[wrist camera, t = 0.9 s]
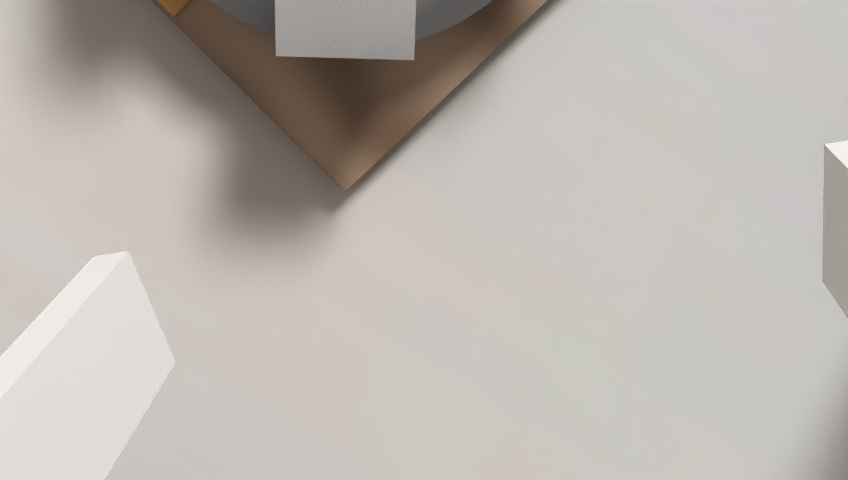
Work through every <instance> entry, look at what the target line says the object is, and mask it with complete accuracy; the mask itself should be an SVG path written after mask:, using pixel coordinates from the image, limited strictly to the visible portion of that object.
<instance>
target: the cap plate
mask: <svg viewBox="0 0 848 480" xmlns="http://www.w3.org/2000/svg"><path fill="white" fill-rule="evenodd" d="M152 1H153V2H154V3H155V4H156V5H157V6H158V7H159V8H160V9H161V10H162V11H163V12H164V13H165V14H166V15H167V16H168V17H169V18H170V19H171V20H172V21H173V22H174V23H175V24H176V25H177V26H178V27H179V28H180V29H181V30H182V31H183V32H184V33H185V34H186V35H187V36H188V37H189V38H190V39H191V40H192V41H193V42H194V43H195V44H196V45H198V46H199V47H200V48H201V49H202V50H203V51H204V52H205V53H206V54H207V55H208V56H209V57H210V58H211V59H212V60H213V61H214V62H215V63H216V64H217V65H218V66H219V67H220V68H221V69H222V70H223V71H224V72H225V73H226V74H227V75H228V76H229V77H230V78H231V79H232V80H233V81H234V82H235V83H236V84H237V85H238V86H239V87H240V88H241V89H242V90H243V91H244V92H245V93H246V94H247V95H248V96H249V97H250V98H251V99H252V100H253V101H254V102H255V103H256V104H257V105H258V106H259V107H260V108H261V109H262V110H263V111H264V112H265V113H266V114H267V115H268V116H269V117H270V118H271V119H272V120H273V121H274V122H275V123H276V124H277V125H278V126H279V127H280V128H281V129H282V130H283V131H284V132H285V133H286V134H287V135H289V136H290V137H291V138H292V139H293V140H294V141H295V142H296V143H297V144H298V145H299V146H300V147H301V148H302V149H303V150H304V151H305V152H306V153H307V154H308V155H309V156H310V157H311V158H312V159H313V160H314V161H315V162H316V163H317V164H318V165H319V166H320V167H321V168H322V169H323V170H324V171H325V172H326V173H327V174H328V175H329V176H330V177H331V178H332V179H333V180H334V181H335V182H336V183H337V184H338V185H339V186H340V187H341V188H342V189H343V190H344V191H345V192H346V191H347V190H348V189H349V188H350V187H351V186H352V185H353V184H354V183H355V182H356V181H357V180H358V179H359V178H360V177H361V176H362V175H364V174H365V173H366V172H367V171H368V170H369V169H370V168H371V167H372V166H373V165H374V164H375V163H376V162H377V161H378V160H379V159H380V158H381V157H383V156H384V155H385V154H386V153H387V152H388V151H389V150H390V149H391V148H392V147H393V146H394V145H395V144H396V143H397V142H398V141H399V140H400V139H402V138H403V137H404V136H405V135H406V134H407V133H408V132H409V131H410V130H411V129H412V128H413V127H414V126H415V125H416V124H417V123H418V122H419V121H421V120H422V119H423V118H424V117H425V116H426V115H427V114H428V113H429V112H430V111H431V110H432V109H433V108H434V107H435V106H436V105H437V104H438V103H440V102H441V101H442V100H443V99H444V98H445V97H446V96H447V95H448V94H449V93H450V92H451V91H452V90H453V89H454V88H455V87H456V86H457V85H459V84H460V83H461V82H462V81H463V80H464V79H465V78H466V77H467V76H468V75H469V74H470V73H471V72H472V71H473V70H474V69H475V68H476V67H478V66H479V65H480V64H481V63H482V62H483V61H484V60H485V59H486V58H487V57H488V56H489V55H490V54H491V53H492V52H493V51H494V50H495V49H497V48H498V47H499V46H500V45H501V44H502V43H503V42H504V41H505V40H506V39H507V38H508V37H509V36H510V35H511V34H512V33H513V32H514V31H516V30H517V29H518V28H519V27H520V26H521V25H522V24H523V23H524V22H525V21H526V20H527V19H528V18H529V17H530V16H531V15H532V14H533V13H535V12H536V11H537V10H538V9H539V8H540V7H541V6H542V5H543V4H544V3H545V2H546V1H547V0H492V1H491V2H490V3H489V4H487V5H486V6H485V7H483V8H482V9H480V10H479V11H477V12H476V13H474V14H472V15H471V16H469V17H468V18H466V19H465V20H463V21H462V22H460V23H458V24H456V25H453V26H451V27H449V28H447V29H445V30H443V31H441V32H439V33H436V34H434V35H432V36H428V37H425V38H422V39H419V40H416V41H415V51H414V60H391V59H357V58H323V57H289V56H276V38H275V36H274V35H271V34H269V33H266V32H263V31H261V30H258V29H256V28H254V27H252V26H250V25H248V24H246V23H245V22H243V21H241V20H239V19H237V18H235V17H233V16H231V15H229V14H228V13H226V12H225V11H224V10H222V9H221V8H219V7H218V6H216V5H215V4H214V3H212V2H211V1H209V0H152Z"/></svg>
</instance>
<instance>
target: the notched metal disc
mask: <svg viewBox="0 0 848 480" xmlns="http://www.w3.org/2000/svg"><path fill="white" fill-rule="evenodd" d="M209 1H211V2H212V3H214V4H215V5H216V6H218V7H219V8H221V9H222V10H224V11H225V12H226V13H228V14H229V15H231V16H233V17H235V18H237V19H239V20H241V21H243V22H245V23H246V24H248V25H250V26H252V27H254V28H256V29H258V30H261V31H263V32H266V33H269V34H271V35H274V36H275V38H276V56H289V57H323V58H357V59H391V60H414V51H415V41H416V40H419V39H422V38H425V37H428V36H432V35H434V34H436V33H439V32H441V31H443V30H445V29H447V28H449V27H451V26H453V25H456V24H458V23H460V22H462V21H463V20H465V19H466V18H468V17H469V16H471V15H472V14H474V13H476V12H477V11H479V10H480V9H482V8H483V7H485V6H486V5H487V4H489V3H490V2H491V1H492V0H209Z"/></svg>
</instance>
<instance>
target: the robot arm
mask: <svg viewBox="0 0 848 480" xmlns="http://www.w3.org/2000/svg"><path fill="white" fill-rule="evenodd" d="M823 282H824V284H825V285H826V287H827V288H828V290H829V291H830V293H831V294H832V296H833V297H834V299H835V300H836V302H837V303H838V305H839V306H840V308H841V309H842V310H843V312H844V313H845V315H846V316H847V318H848V141H842V142H836V143H829V144H824V205H823ZM174 364H175V360H174V357H173V355H172V353H171V350H170V348H169V346H168V343H167V341H166V338H165V336H164V334H163V331H162V329H161V327H160V324H159V322H158V320H157V317H156V315H155V312H154V310H153V308H152V305H151V303H150V301H149V298H148V296H147V294H146V291H145V289H144V286H143V284H142V282H141V279H140V277H139V275H138V272H137V270H136V268H135V265H134V263H133V260H132V258H131V256H130V253H129V251H126V252H119V253H113V254H106V255H100V256H94V257H93V258H92V259H91V260H90V261H89V262H88V263H87V264H86V265H85V266H84V268H83V269H82V270H81V271H80V272H79V273H78V274H77V275H76V276H75V277H74V278H73V279H72V280H71V281H70V283H69V284H68V285H67V286H66V287H65V288H64V289H63V290H62V291H61V292H60V293H59V294H58V295H57V296H56V298H55V299H54V300H53V301H52V302H51V303H50V304H49V305H48V306H47V307H46V308H45V309H44V310H43V311H42V312H41V314H40V315H39V316H38V317H37V318H36V319H35V320H34V321H33V322H32V323H31V324H30V325H29V326H28V327H27V329H26V330H25V331H24V332H23V333H22V334H21V335H20V336H19V337H18V338H17V339H16V340H15V341H14V342H13V344H12V345H11V346H10V347H9V348H8V349H7V350H6V351H5V352H4V353H3V354H2V355H1V356H0V480H105V478H106V477H107V475H108V473H109V472H110V470H111V468H112V467H113V465H114V463H115V462H116V460H117V458H118V457H119V455H120V453H121V452H122V450H123V448H124V447H125V445H126V444H127V442H128V440H129V439H130V437H131V435H132V434H133V432H134V430H135V429H136V427H137V425H138V424H139V422H140V420H141V419H142V417H143V415H144V414H145V412H146V410H147V409H148V407H149V405H150V404H151V402H152V400H153V399H154V397H155V396H156V394H157V392H158V391H159V389H160V387H161V386H162V384H163V382H164V381H165V379H166V377H167V376H168V374H169V372H170V371H171V369H172V367H173V366H174Z"/></svg>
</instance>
